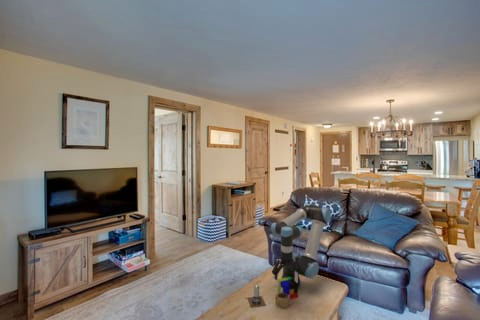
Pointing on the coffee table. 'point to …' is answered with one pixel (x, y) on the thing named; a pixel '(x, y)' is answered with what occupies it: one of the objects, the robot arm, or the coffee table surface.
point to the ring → (282, 300)
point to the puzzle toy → (288, 287)
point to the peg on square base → (256, 298)
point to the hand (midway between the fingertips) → (286, 283)
